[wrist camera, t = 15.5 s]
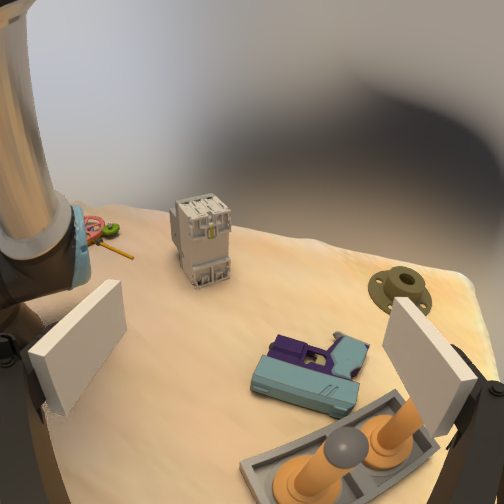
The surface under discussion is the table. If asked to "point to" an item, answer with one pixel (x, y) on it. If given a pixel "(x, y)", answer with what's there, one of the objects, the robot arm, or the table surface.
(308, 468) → the orange joystick peg
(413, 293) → the flange
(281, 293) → the table surface
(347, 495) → the tray
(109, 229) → the mechanical gear assembly
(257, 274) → the table surface
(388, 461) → the orange capped peg
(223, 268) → the circuit breaker
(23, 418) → the robot arm
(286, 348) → the pistol
